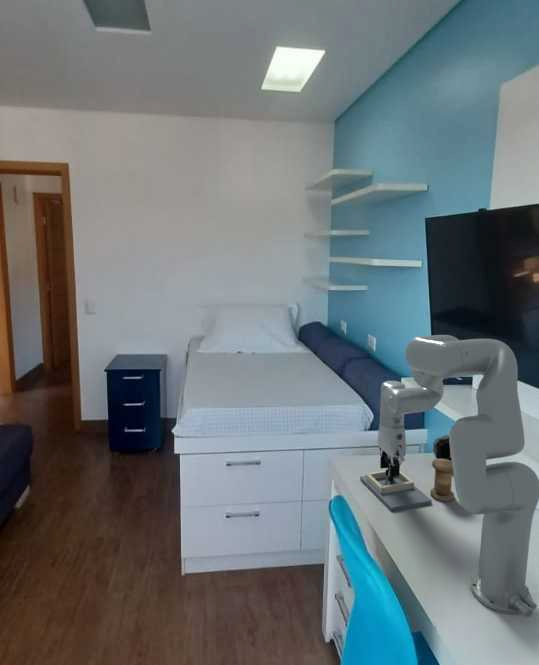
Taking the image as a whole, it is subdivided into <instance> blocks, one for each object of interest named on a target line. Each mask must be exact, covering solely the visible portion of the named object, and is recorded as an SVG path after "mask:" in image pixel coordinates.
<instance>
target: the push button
mask: <svg viewBox="0 0 539 665" xmlns="http://www.w3.org/2000/svg"><path fill="white" fill-rule="evenodd" d="M395 455H397V454H395ZM384 458H385V462H387V463H388V464H389V465H388V468H387V469H385V470H386V473H385V474H386V475H385V477H387V478H386V484H387V485H391V483H394V482H393V479H394V477H390V465H392V464H391V456H389V455H388V454H387V453H386V454H385V455H384ZM396 460H397V458H394V461H396ZM384 481H385V480H384Z"/></svg>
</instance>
